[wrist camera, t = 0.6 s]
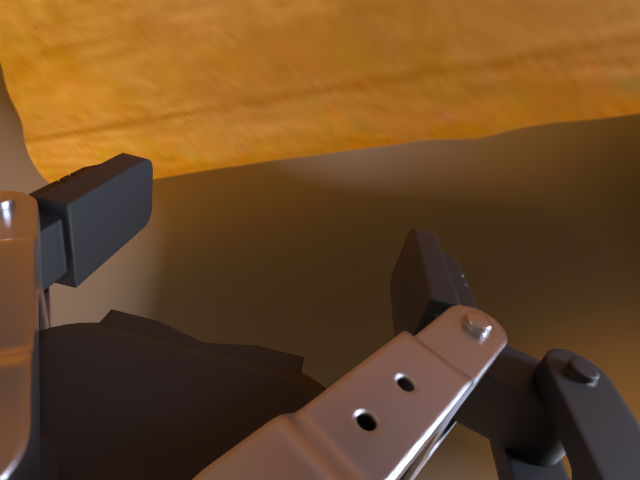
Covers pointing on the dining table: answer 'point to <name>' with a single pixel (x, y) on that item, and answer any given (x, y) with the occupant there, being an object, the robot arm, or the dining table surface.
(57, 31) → the dining table surface
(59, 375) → the robot arm
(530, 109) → the dining table surface
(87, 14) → the dining table surface
